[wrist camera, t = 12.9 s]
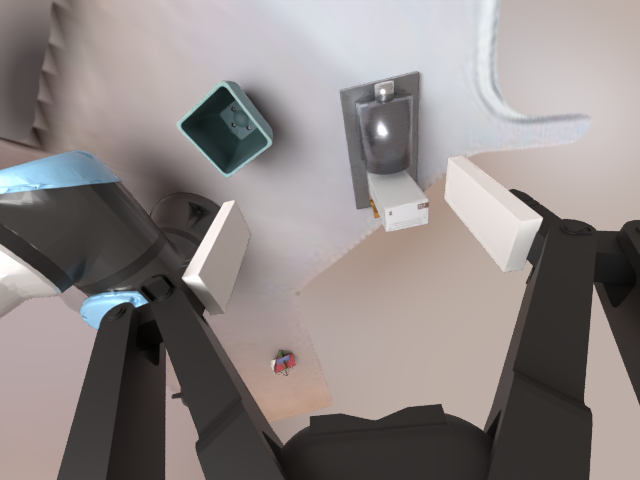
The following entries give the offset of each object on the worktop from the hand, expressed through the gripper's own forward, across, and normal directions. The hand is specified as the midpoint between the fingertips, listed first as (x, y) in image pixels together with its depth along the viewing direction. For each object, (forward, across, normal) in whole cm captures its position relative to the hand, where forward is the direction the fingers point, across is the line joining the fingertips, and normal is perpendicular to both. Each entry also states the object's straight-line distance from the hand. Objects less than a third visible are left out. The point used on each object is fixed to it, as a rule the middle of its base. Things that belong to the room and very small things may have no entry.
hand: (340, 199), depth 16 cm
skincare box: (+27, +8, -13) cm, 31 cm away
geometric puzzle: (+29, -27, -68) cm, 79 cm away
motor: (+29, +8, -8) cm, 31 cm away
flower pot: (+29, -13, +1) cm, 32 cm away
